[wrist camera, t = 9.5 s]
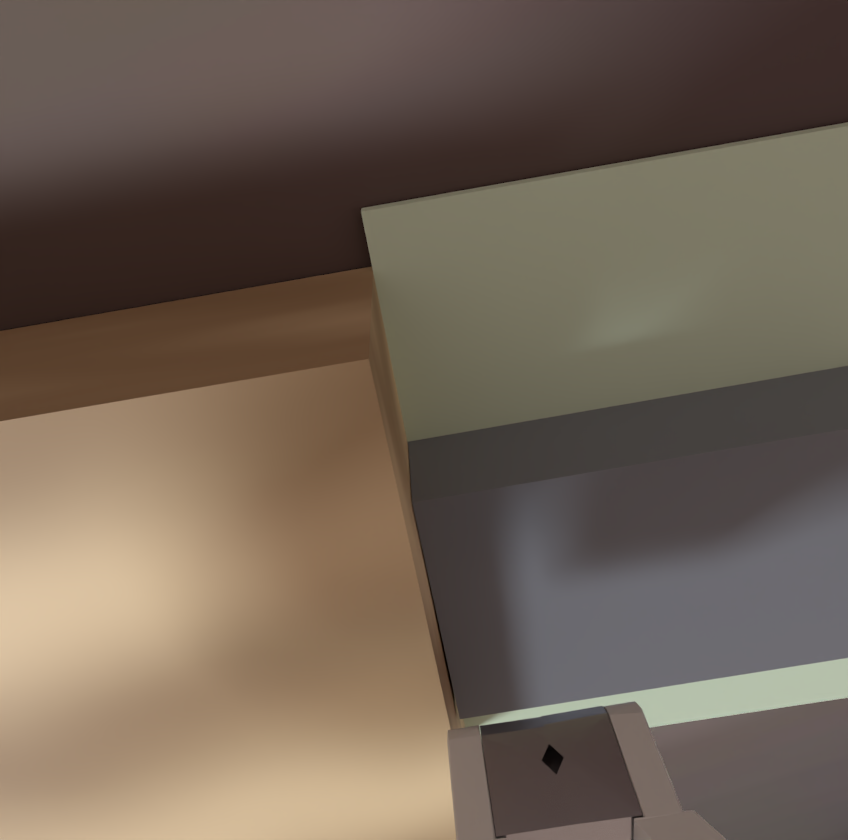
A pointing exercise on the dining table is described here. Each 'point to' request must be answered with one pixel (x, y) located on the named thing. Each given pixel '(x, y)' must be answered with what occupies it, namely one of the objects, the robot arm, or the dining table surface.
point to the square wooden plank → (216, 577)
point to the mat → (623, 315)
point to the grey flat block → (639, 543)
